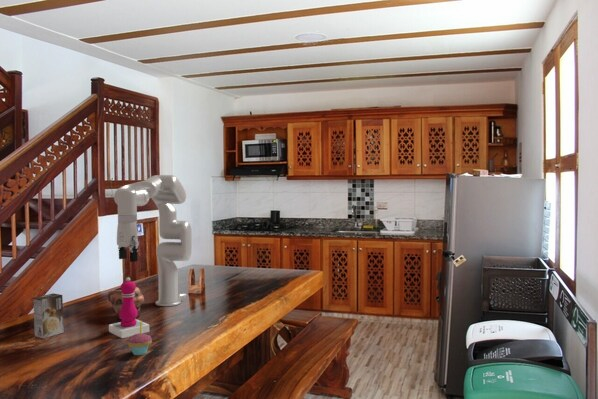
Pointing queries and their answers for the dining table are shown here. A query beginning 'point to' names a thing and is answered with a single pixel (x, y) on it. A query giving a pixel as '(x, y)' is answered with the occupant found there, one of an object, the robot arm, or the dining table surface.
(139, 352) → the cupcake
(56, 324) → the coffee box
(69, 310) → the dining table surface
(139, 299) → the decorative planter
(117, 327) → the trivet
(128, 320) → the pepper mill
